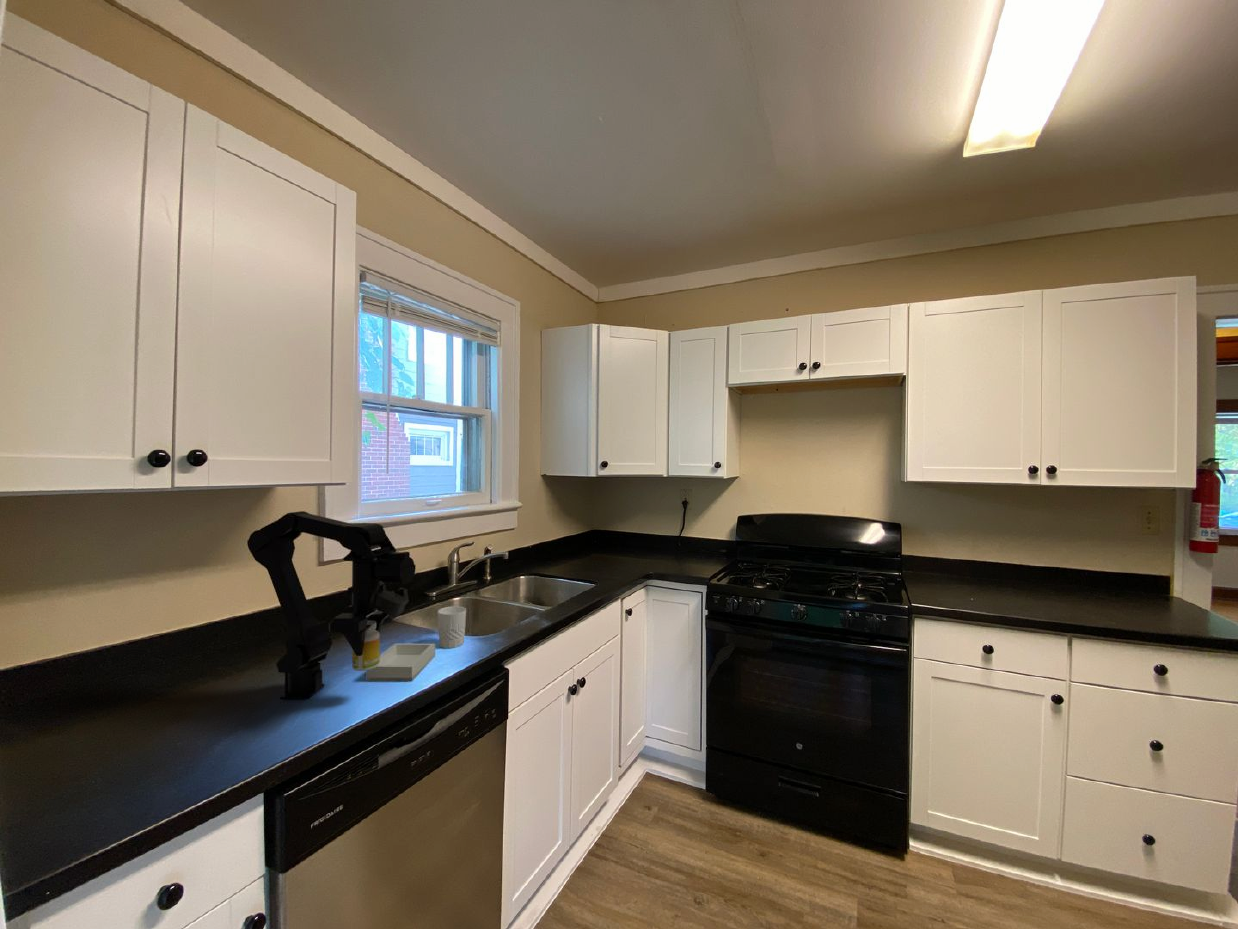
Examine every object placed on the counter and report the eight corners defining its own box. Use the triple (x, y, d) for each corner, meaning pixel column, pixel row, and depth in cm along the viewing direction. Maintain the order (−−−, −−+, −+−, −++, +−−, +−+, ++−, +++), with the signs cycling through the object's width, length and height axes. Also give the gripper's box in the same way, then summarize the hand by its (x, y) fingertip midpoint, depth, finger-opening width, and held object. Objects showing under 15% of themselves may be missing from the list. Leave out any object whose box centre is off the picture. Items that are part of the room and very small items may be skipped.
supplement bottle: (383, 661, 111) (384, 619, 111) (372, 671, 106) (372, 627, 106) (359, 661, 111) (360, 619, 111) (347, 671, 106) (347, 627, 106)
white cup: (454, 651, 137) (454, 615, 137) (431, 647, 139) (431, 612, 139) (471, 641, 144) (471, 607, 144) (449, 638, 147) (449, 605, 147)
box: (366, 681, 118) (366, 666, 118) (394, 656, 133) (394, 643, 133) (411, 681, 118) (412, 666, 118) (435, 656, 133) (435, 643, 133)
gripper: (381, 592, 99) (381, 669, 99) (420, 571, 118) (419, 636, 118) (327, 592, 99) (327, 668, 99) (374, 571, 118) (373, 635, 118)
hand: (366, 650), depth 109 cm, fingers closed on supplement bottle, 5 cm apart
